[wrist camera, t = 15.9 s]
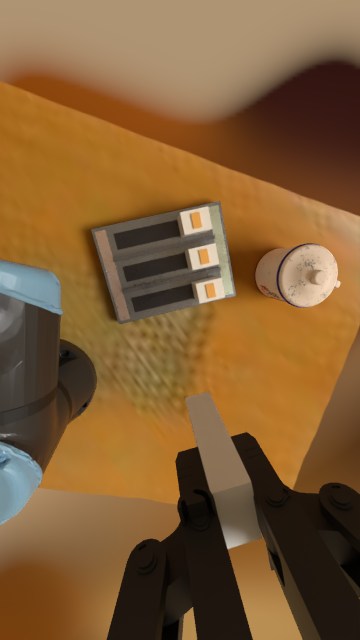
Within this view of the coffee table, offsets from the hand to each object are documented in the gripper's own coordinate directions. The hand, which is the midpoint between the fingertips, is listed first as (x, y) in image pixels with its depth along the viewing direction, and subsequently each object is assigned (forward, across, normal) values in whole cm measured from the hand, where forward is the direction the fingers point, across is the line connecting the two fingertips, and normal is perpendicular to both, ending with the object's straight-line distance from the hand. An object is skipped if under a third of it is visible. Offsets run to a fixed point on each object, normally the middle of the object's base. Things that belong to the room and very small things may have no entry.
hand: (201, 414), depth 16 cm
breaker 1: (+27, +7, +13) cm, 31 cm away
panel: (+29, +2, +8) cm, 31 cm away
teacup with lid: (+30, +22, +2) cm, 37 cm away
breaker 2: (+27, +7, +9) cm, 29 cm away
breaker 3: (+27, +7, +3) cm, 28 cm away
